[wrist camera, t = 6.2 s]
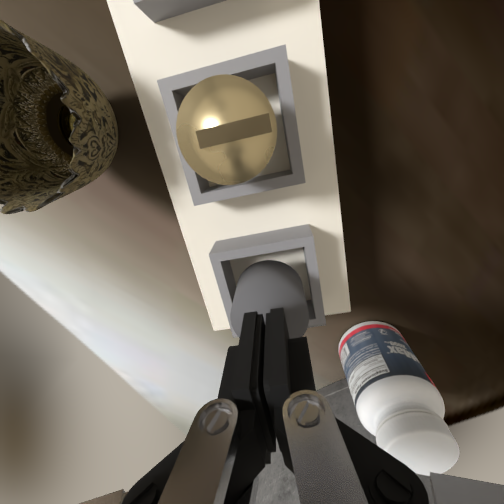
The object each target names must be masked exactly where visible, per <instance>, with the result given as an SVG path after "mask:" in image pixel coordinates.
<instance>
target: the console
mask: <svg viewBox="0 0 504 504" xmlns="http://www.w3.org/2000/svg"><path fill="white" fill-rule="evenodd" d="M107 3H108V6H109V9H110V12H111V15H112V18H113V21H114V24H115V27H116V31H117V34H118V37H119V40H120V43H121V46H122V49H123V52H124V55H125V58H126V61H127V64H128V68H129V71H130V74H131V77H132V80H133V83H134V86H135V89H136V92H137V95H138V98H139V101H140V104H141V108H142V111H143V114H144V117H145V120H146V123H147V126H148V129H149V132H150V135H151V138H152V141H153V144H154V148H155V151H156V154H157V157H158V160H159V163H160V166H161V169H162V172H163V175H164V178H165V181H166V184H167V188H168V191H169V194H170V197H171V200H172V203H173V206H174V209H175V212H176V215H177V218H178V221H179V224H180V228H181V231H182V234H183V237H184V240H185V243H186V246H187V249H188V252H189V255H190V258H191V261H192V264H193V268H194V271H195V274H196V277H197V280H198V283H199V286H200V289H201V292H202V295H203V298H204V301H205V304H206V308H207V311H208V314H209V317H210V320H211V323H212V326H213V329H214V331H216V330H223V329H230V328H231V332H232V335H233V338H234V337H238V336H237V334H236V333H235V332H234V330H233V328H232V325H231V321H230V313H231V308H232V304H233V299H234V295H235V291H236V287H237V283H238V279H239V277H240V275H241V274H242V272H243V271H244V270H245V269H246V268H247V267H249V266H250V265H252V264H254V263H256V262H259V261H263V260H276V261H280V262H283V263H285V264H287V265H289V266H291V267H292V268H293V269H294V270H295V271H296V272H297V273H298V274H299V276H300V278H301V280H302V284H303V288H304V293H305V298H306V303H307V307H308V312H309V324H308V327H316V326H323V325H326V320H325V315H331V314H338V313H345V312H351V307H350V297H349V288H348V278H347V268H346V258H345V249H344V239H343V229H342V220H341V210H340V200H339V190H338V181H337V171H336V161H335V151H334V142H333V132H332V122H331V112H330V103H329V93H328V83H327V74H326V64H325V54H324V44H323V35H322V25H321V15H320V5H319V0H107ZM222 74H228V75H235V76H239V77H242V78H244V79H246V80H248V81H250V82H251V83H253V84H254V85H256V86H257V87H258V88H259V89H260V90H261V91H262V92H263V93H264V94H265V96H266V97H267V99H268V100H269V102H270V104H271V106H272V108H273V111H274V114H275V118H276V123H277V140H276V145H275V149H274V152H273V155H272V157H271V159H270V161H269V162H268V164H267V165H266V167H265V168H264V169H263V170H262V171H261V172H260V173H259V174H258V175H256V176H255V177H254V178H252V179H250V180H248V181H246V182H244V183H240V184H236V185H221V184H216V183H213V182H210V181H208V180H206V179H204V178H202V177H201V176H200V175H198V174H197V173H196V172H195V171H194V170H193V169H192V168H191V167H190V166H189V165H188V163H187V162H186V160H185V159H184V157H183V155H182V153H181V151H180V148H179V145H178V141H177V134H176V121H177V115H178V111H179V108H180V106H181V103H182V101H183V99H184V98H185V96H186V95H187V93H188V92H189V91H190V90H191V89H192V88H193V87H194V86H195V85H196V84H198V83H199V82H200V81H202V80H204V79H206V78H208V77H211V76H215V75H222ZM308 327H307V328H308Z"/></svg>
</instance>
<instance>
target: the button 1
mask: <svg viewBox="0 0 504 504" xmlns="http://www.w3.org/2000/svg"><path fill="white" fill-rule="evenodd" d="M282 307H283V308H284V313H285V318H286V322H287V327H288V332H289V337H290V339H292V338H300V337H302V336H303V335H304V333H305V332H306V330H307V327H308V324H309V312H308V307H307V303H306V298H305V293H304V288H303V284H302V280H301V278H300V276H299V274H298V273H297V272H296V271H295V270H294V269H293V268H292V267H291V266H289V265H287V264H285V263H283V262H280V261H276V260H263V261H259V262H256V263H254V264H252V265H250V266H249V267H247V268H246V269H245V270H244V271H243V272H242V274H241V275H240V277H239V279H238V283H237V287H236V291H235V295H234V299H233V304H232V308H231V313H230V321H231V325H232V328H233V330H234V332H235V333H236V334H237V336H238V337H239V338H240V334H241V328H242V322H243V316H244V313H248V312H254V311H257V312H258V314H263V317H264V321H265V322H266V313H270V309H275V308H282Z"/></svg>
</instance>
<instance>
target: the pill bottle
mask: <svg viewBox="0 0 504 504" xmlns="http://www.w3.org/2000/svg"><path fill="white" fill-rule="evenodd" d="M339 356H340V360H341V363H342V366H343V369H344V372H345V376H346V379H347V382H348V385H349V389H350V392H351V395H352V398H353V402H354V405H355V408H356V412H357V414H358V417H359V419H360V421H361V423H362V425H363V426H364V427H365V429H366V430H368V431H369V432H370V433H371V434H373V435H374V436H376V443H377V446H379V447H380V448H381V449H383V450H384V451H386V452H387V453H389V454H390V455H392V456H393V457H395V458H396V459H398V460H399V461H401V462H402V463H404V464H405V465H406V466H408V467H409V468H410V469H411V470H412V471H414V472H415V473H416V474H421V475H426V476H430V472H433V473H439V474H442V473H444V472H446V471H447V470H449V469H450V468H452V467H453V466H454V465H455V463H456V462H457V461H458V459H459V455H460V449H459V446H458V443H457V441H456V440H455V438H454V436H453V434H452V433H451V431H450V429H449V427H448V425H447V424H446V423H445V421H444V420H443V418H444V414H445V406H444V401H443V399H442V397H441V395H440V393H439V391H438V389H437V388H436V386H435V385H434V383H433V382H432V380H431V379H430V377H429V376H428V374H427V373H426V371H425V370H424V368H423V367H422V365H421V364H420V362H419V361H418V359H417V358H416V356H415V355H414V353H413V352H412V350H411V348H410V347H409V345H408V344H407V342H406V341H405V339H404V338H403V336H402V335H401V333H400V332H399V331H398V330H397V329H396V328H395V327H393V326H391V325H389V324H387V323H384V322H379V321H368V322H363V323H360V324H357V325H355V326H353V327H352V328H350V329H349V330H348V331H347V332H346V333H345V334H344V335H343V336H342V338H341V340H340V343H339Z"/></svg>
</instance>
